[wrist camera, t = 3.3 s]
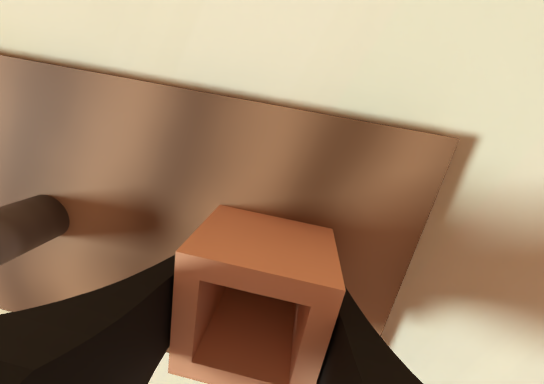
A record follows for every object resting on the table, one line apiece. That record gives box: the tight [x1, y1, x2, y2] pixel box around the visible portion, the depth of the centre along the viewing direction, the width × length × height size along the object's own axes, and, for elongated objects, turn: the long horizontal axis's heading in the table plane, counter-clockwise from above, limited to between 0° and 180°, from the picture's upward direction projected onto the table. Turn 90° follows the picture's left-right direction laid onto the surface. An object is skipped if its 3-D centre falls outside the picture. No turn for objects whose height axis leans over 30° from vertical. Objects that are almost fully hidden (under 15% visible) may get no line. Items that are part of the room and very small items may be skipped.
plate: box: [0, 55, 459, 384], centre depth 11 cm, size 22×14×6 cm, turn 81°
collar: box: [168, 205, 346, 384], centre depth 10 cm, size 5×5×4 cm
